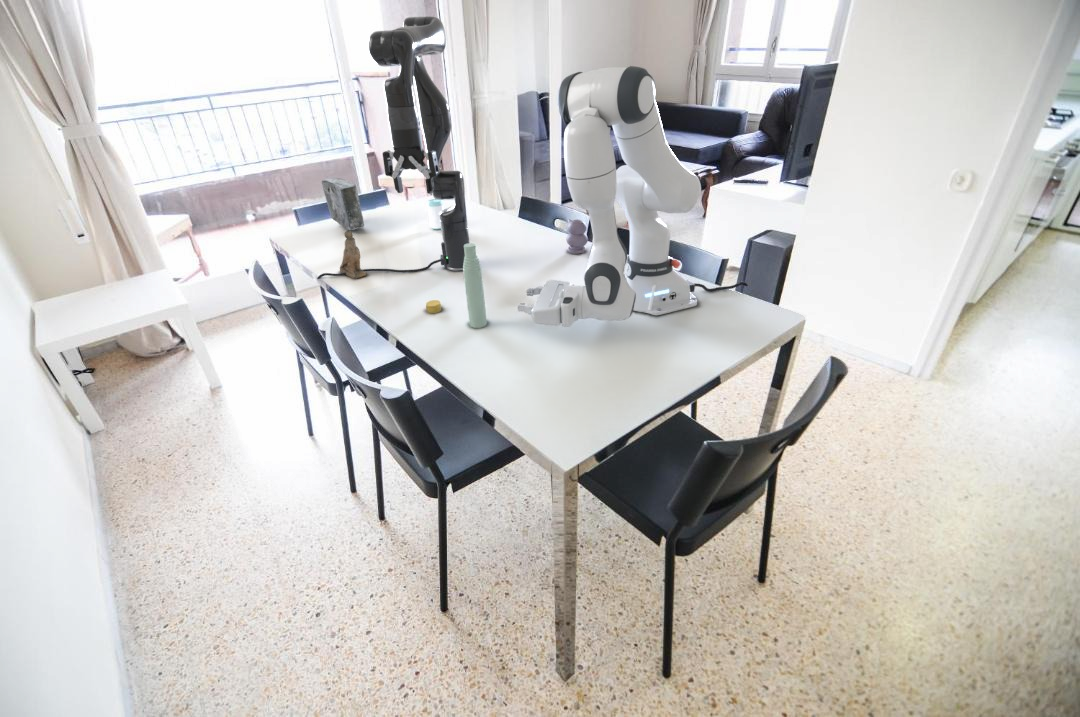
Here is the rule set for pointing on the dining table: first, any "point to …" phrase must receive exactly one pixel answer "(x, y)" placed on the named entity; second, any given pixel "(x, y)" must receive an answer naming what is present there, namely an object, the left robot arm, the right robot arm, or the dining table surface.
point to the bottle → (474, 287)
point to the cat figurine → (576, 236)
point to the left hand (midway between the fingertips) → (415, 192)
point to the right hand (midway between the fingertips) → (522, 299)
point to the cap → (433, 306)
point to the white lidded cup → (435, 212)
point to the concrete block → (343, 202)
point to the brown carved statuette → (351, 258)
